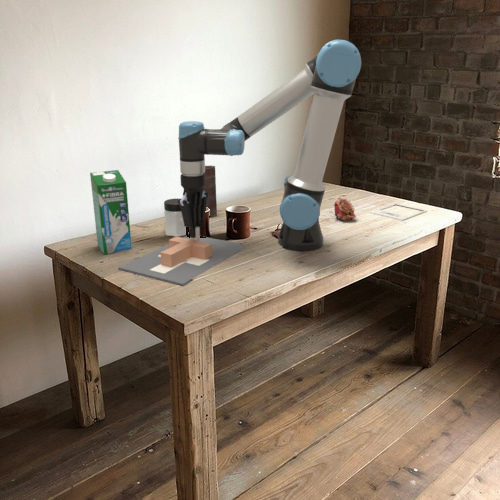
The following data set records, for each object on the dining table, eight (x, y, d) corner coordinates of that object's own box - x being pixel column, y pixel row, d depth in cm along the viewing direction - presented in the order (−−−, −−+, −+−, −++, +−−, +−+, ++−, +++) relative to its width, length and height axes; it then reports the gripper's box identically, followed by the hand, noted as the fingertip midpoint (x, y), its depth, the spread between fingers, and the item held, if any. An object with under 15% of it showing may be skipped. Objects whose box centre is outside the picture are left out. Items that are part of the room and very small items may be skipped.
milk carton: (104, 254, 173) (96, 177, 165) (97, 246, 181) (89, 172, 172) (131, 250, 177) (125, 174, 168) (124, 242, 185) (118, 169, 176)
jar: (171, 239, 187) (169, 206, 183) (161, 233, 193) (159, 200, 189) (194, 234, 192) (192, 202, 187) (183, 229, 198) (182, 197, 194)
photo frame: (370, 211, 216) (395, 203, 228) (370, 214, 216) (395, 205, 228) (402, 219, 206) (426, 210, 218) (402, 222, 207) (426, 212, 218)
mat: (249, 247, 179) (249, 245, 179) (183, 285, 150) (183, 283, 150) (190, 235, 191) (190, 233, 191) (118, 269, 162) (118, 267, 162)
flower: (324, 216, 206) (336, 202, 201) (330, 205, 213) (342, 191, 209) (345, 231, 206) (357, 217, 201) (350, 220, 214) (362, 206, 209)
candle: (209, 220, 208) (207, 168, 201) (194, 217, 211) (192, 166, 204) (220, 215, 214) (219, 165, 207) (205, 212, 217) (204, 163, 210)
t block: (212, 255, 170) (212, 243, 169) (185, 270, 159) (184, 257, 158) (177, 248, 177) (176, 236, 176) (148, 261, 166) (147, 249, 164)
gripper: (195, 168, 172) (197, 238, 181) (169, 176, 162) (173, 250, 170) (214, 171, 169) (216, 242, 177) (189, 179, 158) (192, 254, 167)
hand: (195, 246), depth 174 cm, fingers closed
